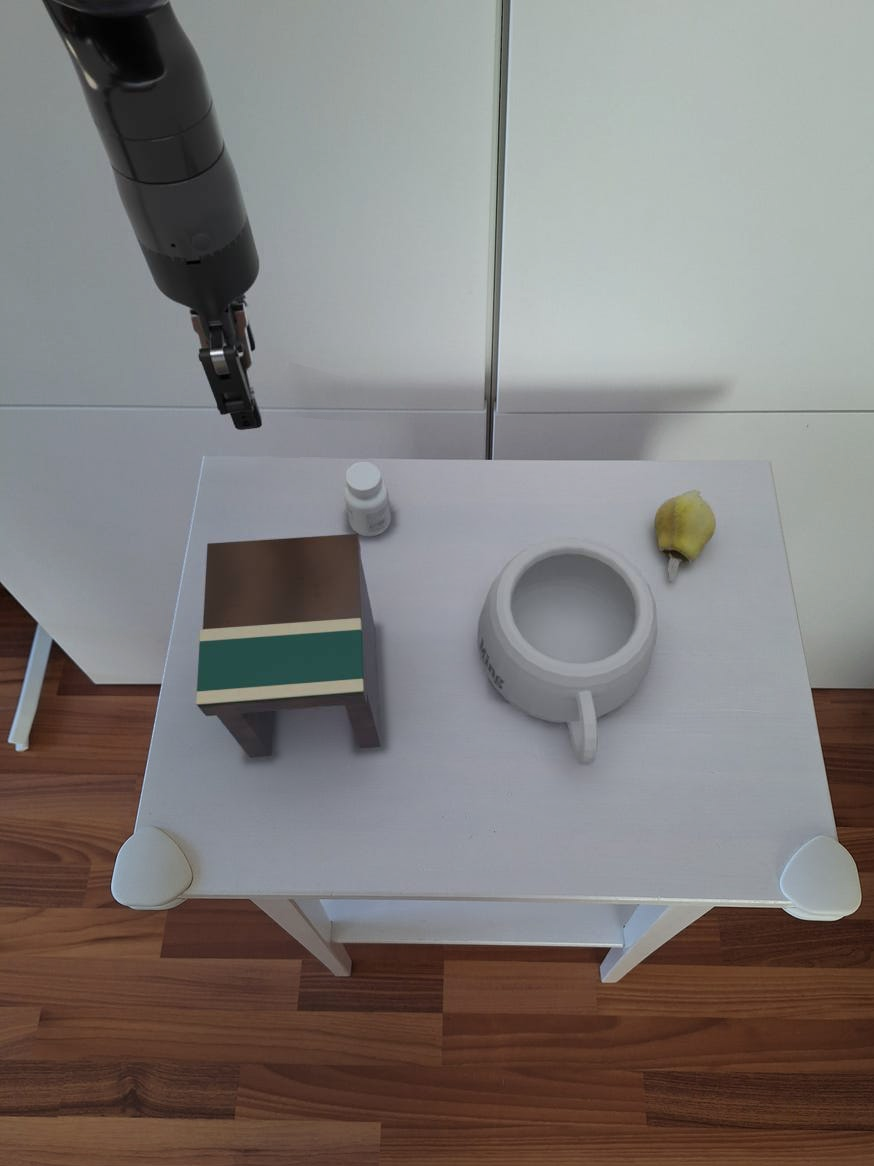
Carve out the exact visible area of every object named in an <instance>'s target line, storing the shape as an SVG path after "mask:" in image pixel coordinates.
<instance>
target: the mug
mask: <svg viewBox="0 0 874 1166" xmlns="http://www.w3.org/2000/svg"><path fill="white" fill-rule="evenodd" d="M656 606H657V604H656V601H655V599H654V596H653V593H652V590H651V587H650V585H649V583H648V582H647V580H646V579H645V577H644V576H643V574H642V573H641V571H640V570H639V569H638V568H637V566H636V565H635V564H634V563H633V562H632V561H630V560H629V559H628V558H627V557H626V556H624V554H623V553H621V552H619V551H617V550H615V549H614V548H612V547H611V546H608V545H606V544H605V543H603V542H599V541H595V540H591V539H588V538H585V537H568V536H562V537H557V538H551V539H546V540H543V541H540V542H538V543H536V544H533V545H530V546H528V547H526V548H524V549H522V550H521V551H519V553H517V554H516V555H515V556H513V557H512V558H511V559H510V560H508V561H507V563H506V564H505V565H504V566H503V568H502V569H501V570H500V572H499V573H498V574H497V576H496V577H495V579H494V580H493V582H492V583H491V584H490V586H489V589H488V592H487V594H486V597H485V599H484V603H483V605H482V608H481V611H480V614H479V618H478V622H477V641H476V645H477V649H478V653H479V657H480V661H481V665H482V667H483V669H484V671H485V674H486V675H487V677H488V679H489V680H490V682H491V684H492V685H493V687H494V689H495V690H496V691H497V692H498V693H499V695H501V696H502V697H503V698H504V699H505V700H506V701H507V703H509V704H510V705H511V706H513V707H515V708H516V709H518V710H520V711H521V712H523V713H525V714H527V715H528V716H530V717H533V718H537V719H540V720H543V721H546V722H550V723H557V724H558V723H561V724H564V723H566V724H567V727H568V732H569V739H570V743H571V748H572V751H573V754H574V756H575V758H576V761H577V763H578V764H579V765H582V766H585V767H587V766H589V765H591V764H593V763H594V762H595V761H596V756H597V752H598V743H599V742H598V738H599V734H598V719H599V718H600V717H602V716H604V715H607V714H609V713H610V712H613V711H614V710H616V709H618V708H619V707H621V706H622V705H623V704H624V703H625V702H626V701H627V700H628V699H629V698H631V697H632V696H633V695H634V694H635V693H636V692H637V691H638V689H639V688H640V686H641V684H642V682H643V681H644V679H645V677H646V675H647V673H648V671H649V668H650V667H651V664H652V658H653V656H654V655H653V654H654V650H655V647H656V642H657V637H658V619H657V607H656Z"/></svg>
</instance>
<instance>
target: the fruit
mask: <svg viewBox="0 0 874 1166" xmlns="http://www.w3.org/2000/svg"><path fill="white" fill-rule="evenodd" d="M700 494H701V492H700V491H699V490H697V489H692V490H689V491H686V492H684V493H682V494H680V495H677V496H674V497H671V498H668V499H667V500H665V501H664V502H662V504H660V506H659V507H658V508H657V511H656V513H655V516H654V525H653V526H654V532H655V535H656V538H657V547H658V550H659V551H660V553H661V554H662V555H664V556H667V557H669V561H668V564H667V574H668V582H669V583H672V584H673V583H674V581H675V579H676V577H677V573H678V570H679V565H680V563H681V562H682V563H687V564H689V563H693V562H694V561H695V560H696V559H697V558H698V556H699V554H700V553H701V552H702V551H703V550H704V549H705V547H706V545H707V544H708V543H709V542H710V541H711V539H712V538H713V536H714V534H715V531H716V523H717V522H716V516H715V514H714V511H713V510H712V508H711V506H710V504H709V503H708V502H707V501H706V500H704V499H703V497H702V496H701V495H700Z"/></svg>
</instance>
